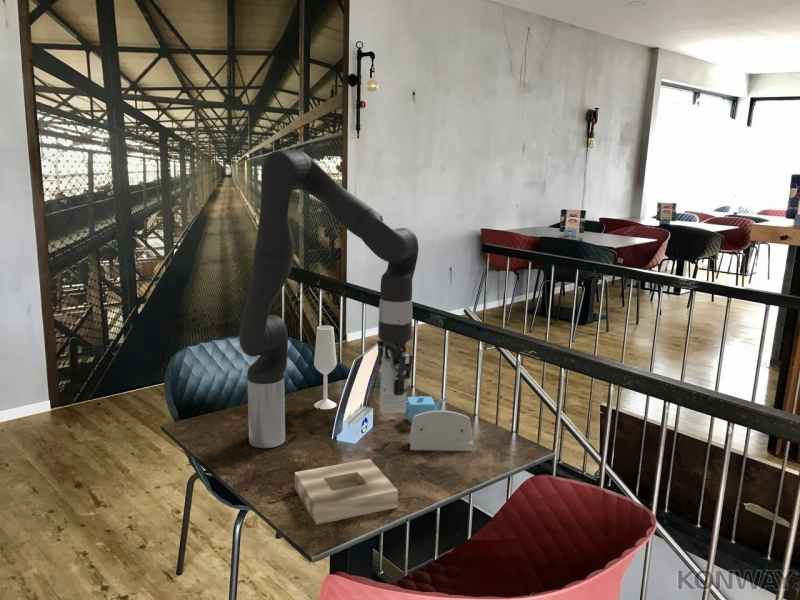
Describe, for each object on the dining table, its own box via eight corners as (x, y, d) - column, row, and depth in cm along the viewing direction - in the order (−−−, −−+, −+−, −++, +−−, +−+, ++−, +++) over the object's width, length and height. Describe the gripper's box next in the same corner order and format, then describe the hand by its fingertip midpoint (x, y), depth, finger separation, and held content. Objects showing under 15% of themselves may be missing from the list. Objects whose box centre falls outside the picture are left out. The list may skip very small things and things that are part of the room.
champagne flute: (341, 405, 197) (341, 327, 192) (324, 411, 192) (323, 331, 187) (326, 399, 201) (326, 323, 196) (309, 404, 197) (309, 327, 192)
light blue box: (442, 417, 190) (443, 392, 188) (446, 425, 184) (447, 400, 182) (401, 418, 189) (402, 393, 187) (403, 426, 183) (404, 401, 181)
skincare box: (380, 413, 149) (381, 362, 146) (378, 405, 153) (380, 356, 150) (407, 413, 149) (409, 362, 146) (405, 405, 154) (407, 356, 151)
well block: (295, 488, 147) (294, 472, 146) (369, 474, 154) (369, 458, 153) (316, 524, 133) (316, 506, 132) (397, 507, 140) (397, 490, 139)
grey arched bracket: (409, 449, 168) (409, 410, 169) (408, 448, 173) (409, 409, 174) (474, 451, 168) (474, 411, 169) (472, 449, 173) (472, 410, 174)
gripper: (367, 312, 151) (366, 382, 155) (393, 327, 138) (391, 403, 142) (397, 310, 154) (394, 378, 158) (425, 325, 142) (422, 399, 145)
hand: (393, 390), depth 150 cm, fingers closed on skincare box, 5 cm apart
